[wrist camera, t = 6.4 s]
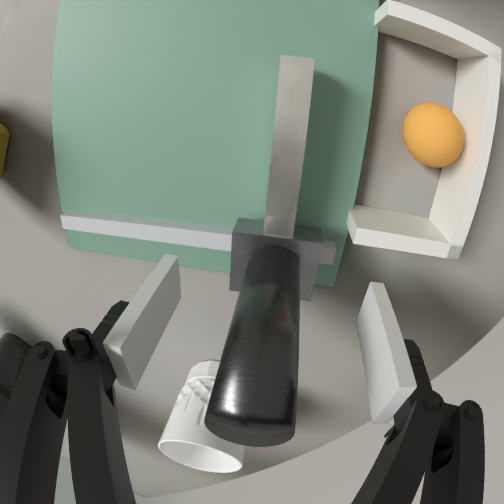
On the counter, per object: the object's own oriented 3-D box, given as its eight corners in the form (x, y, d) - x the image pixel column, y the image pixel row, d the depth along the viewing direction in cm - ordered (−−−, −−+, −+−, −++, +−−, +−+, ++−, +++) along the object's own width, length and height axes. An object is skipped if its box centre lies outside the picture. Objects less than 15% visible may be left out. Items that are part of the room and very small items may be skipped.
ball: (387, 152, 17) (415, 167, 13) (396, 93, 15) (427, 95, 11) (436, 164, 17) (468, 181, 13) (445, 109, 15) (481, 117, 11)
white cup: (177, 380, 32) (150, 451, 23) (199, 344, 28) (168, 431, 19) (237, 405, 33) (222, 477, 24) (270, 375, 29) (258, 462, 20)
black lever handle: (236, 268, 20) (181, 437, 10) (251, 58, 14) (147, -23, 3) (309, 278, 20) (309, 456, 9) (342, 69, 13) (454, 12, 3)
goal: (343, 216, 20) (353, 243, 16) (370, 16, 13) (387, -1, 9) (435, 232, 19) (457, 260, 16) (469, 52, 12) (501, 48, 9)
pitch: (76, 241, 24) (58, 256, 21) (73, -19, 12) (52, -25, 10) (332, 277, 22) (336, 300, 20) (374, -40, 10) (384, -56, 8)
